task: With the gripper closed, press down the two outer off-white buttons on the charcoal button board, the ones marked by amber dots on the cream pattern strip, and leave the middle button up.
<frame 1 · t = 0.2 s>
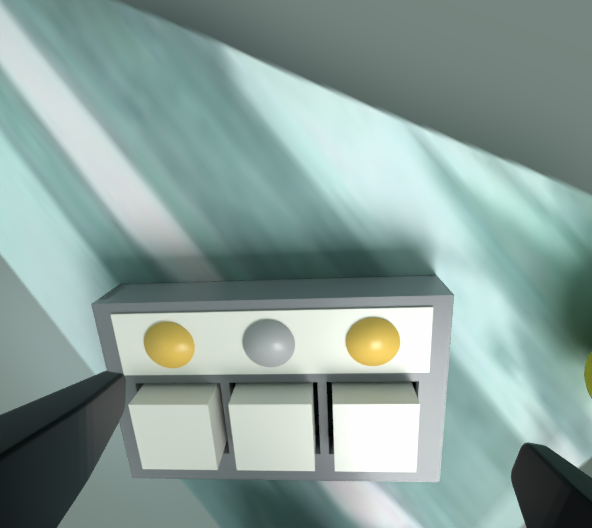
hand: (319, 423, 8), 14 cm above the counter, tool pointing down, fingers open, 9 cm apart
button c: (182, 422, 22), point 3 cm above the counter, slide at 0.0 cm
board: (279, 367, 24), on the counter
button a: (372, 422, 21), point 3 cm above the counter, slide at 0.0 cm
button b: (275, 422, 21), point 3 cm above the counter, slide at 0.0 cm
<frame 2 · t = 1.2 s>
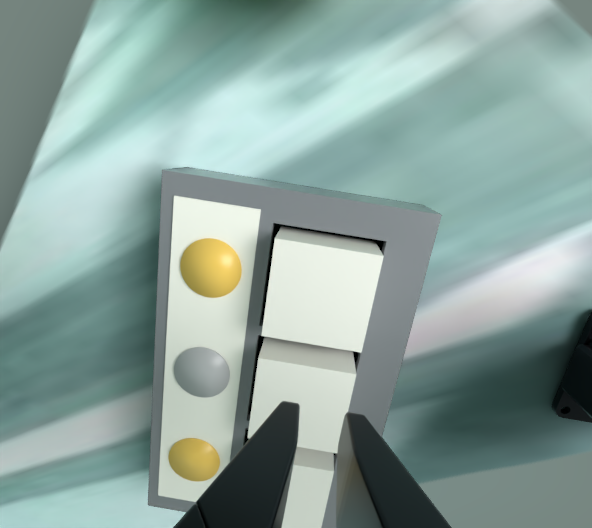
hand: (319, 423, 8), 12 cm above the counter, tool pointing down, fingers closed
button c: (285, 477, 20), point 3 cm above the counter, slide at 0.0 cm
board: (278, 351, 21), on the counter
button a: (319, 287, 17), point 3 cm above the counter, slide at 0.0 cm
button b: (301, 390, 18), point 3 cm above the counter, slide at 0.0 cm
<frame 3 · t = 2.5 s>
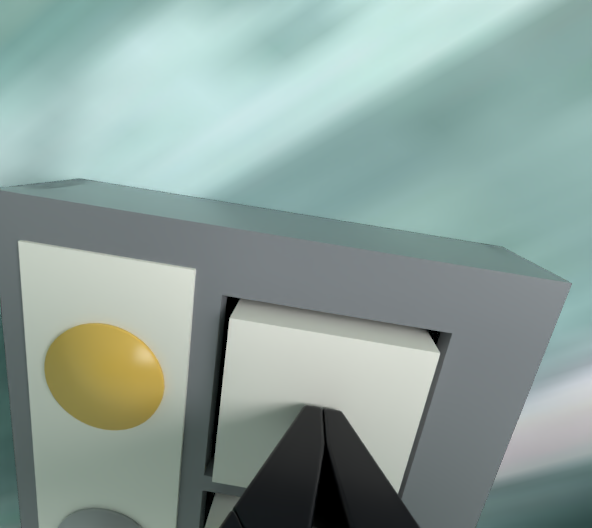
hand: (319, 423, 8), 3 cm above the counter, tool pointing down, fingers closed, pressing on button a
board: (250, 475, 13), on the counter
button a: (317, 388, 10), point 2 cm above the counter, slide at 1.1 cm, touching gripper
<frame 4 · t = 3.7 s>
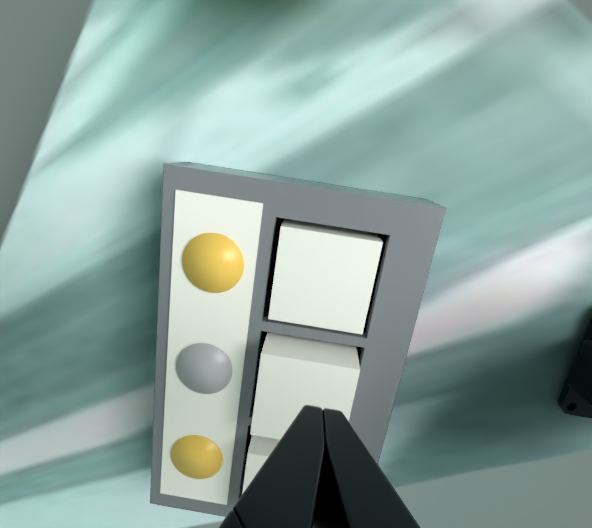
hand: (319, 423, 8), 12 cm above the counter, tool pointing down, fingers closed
button c: (288, 475, 20), point 3 cm above the counter, slide at 0.0 cm
board: (281, 348, 21), on the counter
button a: (323, 273, 18), point 2 cm above the counter, slide at 1.2 cm
button b: (304, 387, 18), point 3 cm above the counter, slide at 0.0 cm
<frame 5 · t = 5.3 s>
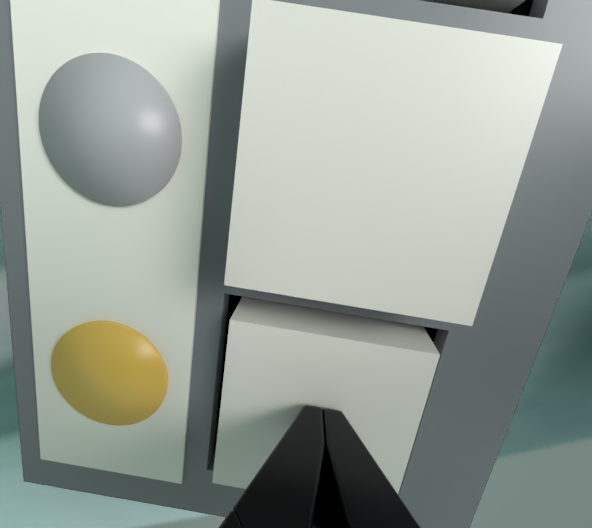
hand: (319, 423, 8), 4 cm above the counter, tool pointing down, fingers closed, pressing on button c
button c: (317, 390, 10), point 2 cm above the counter, slide at 0.9 cm, touching gripper
board: (297, 158, 10), on the counter
button b: (364, 174, 7), point 3 cm above the counter, slide at 0.0 cm
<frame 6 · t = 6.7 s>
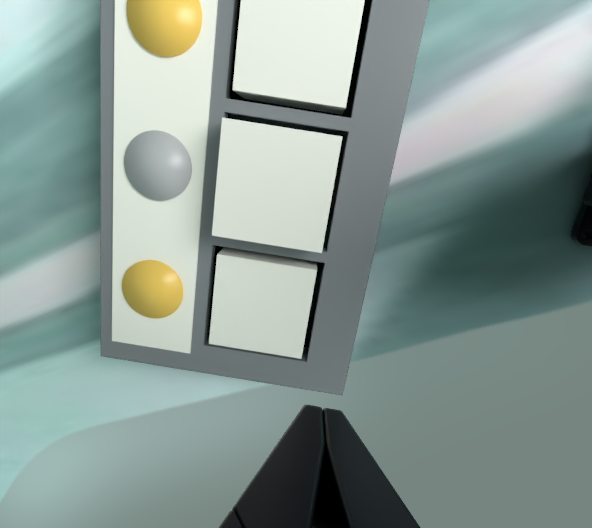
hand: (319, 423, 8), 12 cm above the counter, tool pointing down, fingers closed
button c: (264, 298, 18), point 2 cm above the counter, slide at 1.2 cm
board: (253, 175, 18), on the counter
button a: (299, 43, 15), point 2 cm above the counter, slide at 1.2 cm
button b: (277, 185, 15), point 3 cm above the counter, slide at 0.0 cm
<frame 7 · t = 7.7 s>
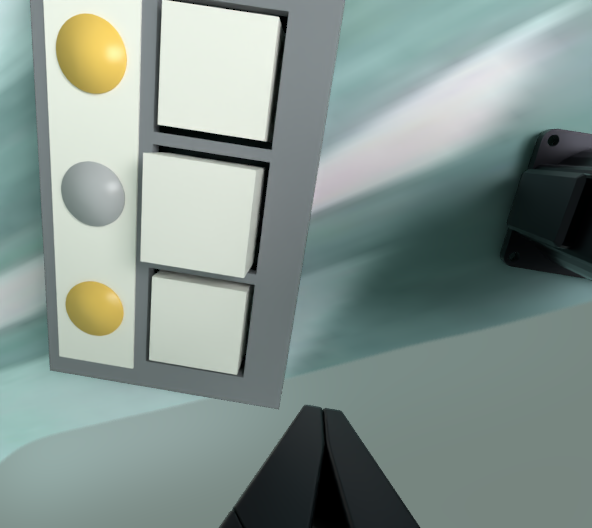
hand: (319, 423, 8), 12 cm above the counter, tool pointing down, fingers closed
button c: (203, 316, 19), point 2 cm above the counter, slide at 1.2 cm
board: (195, 198, 19), on the counter
button a: (223, 79, 16), point 2 cm above the counter, slide at 1.2 cm
button b: (204, 213, 16), point 3 cm above the counter, slide at 0.0 cm
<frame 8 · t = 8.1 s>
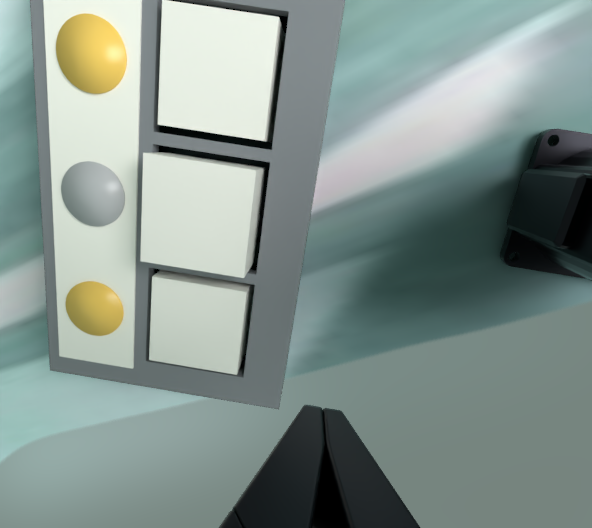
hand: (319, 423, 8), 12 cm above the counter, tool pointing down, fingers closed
button c: (203, 316, 19), point 2 cm above the counter, slide at 1.2 cm
board: (195, 198, 19), on the counter
button a: (223, 79, 16), point 2 cm above the counter, slide at 1.2 cm
button b: (204, 213, 16), point 3 cm above the counter, slide at 0.0 cm
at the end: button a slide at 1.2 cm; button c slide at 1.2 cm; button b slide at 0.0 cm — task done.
